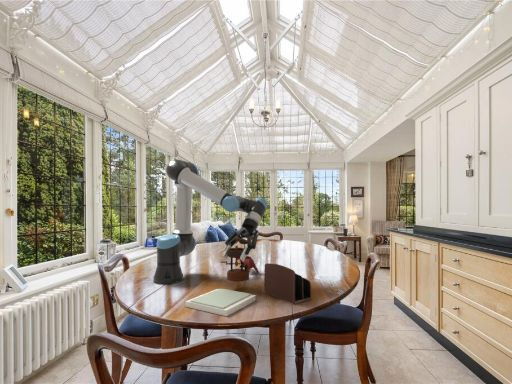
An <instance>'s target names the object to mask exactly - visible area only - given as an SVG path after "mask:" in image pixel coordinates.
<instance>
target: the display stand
mask: <svg viewBox="0 0 512 384" xmlns="http://www.w3.org/2000/svg"><path fill="white" fill-rule="evenodd" d="M256 299H257V295H256V294H251V293H249V292H244V291H243V292H241V291H236V290H232V289H227V288H226V289H225V288H216V289H214V290H211V291H209V292H206V293H203V294H201V295H198V296H196V297H193V298H190V299H188V300H186V301H185V302H184V303H185V308H191V309H193V310H199V311H203V312H206V313H210V314H211V313H212V314H216V315H219V316H224V317H228V316H230V315H232V314H234V313H235V312H237V311H238V310H239V311H240V310H241V309H242V308H244V307H246V306H249V305H250V304H252V303H254V302H255V301H257V300H256Z"/></svg>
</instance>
